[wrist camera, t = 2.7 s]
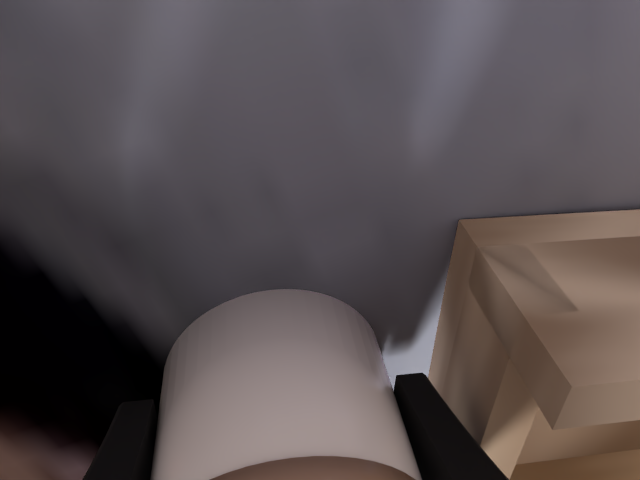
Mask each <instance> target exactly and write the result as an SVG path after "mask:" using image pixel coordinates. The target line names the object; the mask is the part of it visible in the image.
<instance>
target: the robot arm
mask: <svg viewBox="0 0 640 480" xmlns="http://www.w3.org/2000/svg"><path fill="white" fill-rule="evenodd" d="M394 395H395V398H396V401H397V404H398V407H399V410H400V413H401V416H402V419H403V422H404V425H405V428H406V431H407V434H408V438H409V441H410V444H411V447H412V450H413V453H414V456H415V459H416V462H417V465H418V468H419V471H420V474H421V478H422V480H509V479H508V478H507V477H506V476H505V475H504V473H503V472H502V471H501V470H500V469H499V468H498V467H497V465H496V464H495V463H494V462H493V461H492V460H491V458H490V457H489V456H488V455H487V454H486V453H485V451H484V450H483V449H482V448H481V447H480V445H479V444H478V443H477V442H476V441H475V439H474V438H473V437H472V436H471V435H470V433H469V432H468V431H467V430H466V428H465V427H464V426H463V425H462V423H461V422H460V421H459V419H458V418H457V417H456V416H455V414H454V413H453V412H452V410H451V409H450V408H449V406H448V405H447V404H446V402H445V401H444V400H443V398H442V397H441V396H440V394H439V393H438V392H437V390H436V389H435V387H434V386H433V385H432V383H431V382H430V380H429V379H428V378H427V376H426V375H425V374H423V373H415V374H405V375H396V381H395V387H394ZM157 422H158V418H157V414H156V409H155V405H154V401H153V399H149V400H139V401H129V402H123V403H122V404H121V405H119V407H118V409H117V411H116V414H115V416H114V418H113V421H112V423H111V425H110V427H109V429H108V431H107V433H106V436H105V438H104V440H103V442H102V444H101V446H100V448H99V450H98V452H97V454H96V456H95V458H94V460H93V461H92V463H91V465H90V467H89V469H88V471H87V473H86V475H85V476H84V478H83V480H150V478H151V470H152V462H153V454H154V446H155V438H156V430H157Z"/></svg>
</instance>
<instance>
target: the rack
mask: <svg viewBox="0 0 640 480" xmlns="http://www.w3.org/2000/svg"><path fill="white" fill-rule="evenodd" d="M428 379H429V380H430V382H431V383H432V385H433V386H434V387H435V389H436V390H437V392H438V393H439V394H440V396H441V397H442V398H443V400H444V401H445V402H446V404H447V405H448V406H449V408H450V409H451V410H452V412H453V413H454V414H455V416H456V417H457V418H458V419H459V421H460V422H461V423H462V425H463V426H464V427H465V428H466V430H467V431H468V432H469V433H470V435H471V436H472V437H473V438H474V439H475V441H476V442H477V443H478V444H479V445H480V447H481V448H482V449H483V450H484V451H485V453H486V454H487V455H488V456H489V457H490V458H491V460H492V461H493V462H494V463H495V464H496V465H497V467H498V468H499V469H500V470H501V471H502V472H503V473H504V475H505V476H506V477H507V478H508V479H509V480H640V209H638V210H620V211H603V212H585V213H568V214H550V215H533V216H515V217H498V218H480V219H463V220H459V221H458V226H457V231H456V236H455V240H454V245H453V250H452V255H451V259H450V264H449V269H448V274H447V279H446V284H445V290H444V295H443V300H442V306H441V311H440V316H439V322H438V327H437V333H436V338H435V343H434V349H433V354H432V359H431V365H430V370H429V375H428Z"/></svg>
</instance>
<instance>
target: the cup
mask: <svg viewBox="0 0 640 480" xmlns="http://www.w3.org/2000/svg"><path fill="white" fill-rule="evenodd" d="M150 480H422V478H421V474H420V471H419V468H418V465H417V462H416V459H415V456H414V453H413V450H412V447H411V444H410V441H409V438H408V434H407V431H406V428H405V425H404V422H403V419H402V416H401V413H400V410H399V407H398V404H397V401H396V398H395V395H394V391H393V388H392V385H391V382H390V379H389V376H388V373H387V370H386V367H385V364H384V361H383V358H382V355H381V351H380V348H379V345H378V342H377V339H376V337H375V334H374V332H373V330H372V328H371V326H370V325H369V323H368V322H367V321H366V320H365V319H364V317H363V316H362V315H361V314H360V313H358V312H357V311H356V310H355V309H354V308H352V307H351V306H349V305H348V304H346V303H344V302H343V301H340V300H338V299H336V298H334V297H332V296H328V295H325V294H322V293H318V292H313V291H308V290H299V289H274V290H266V291H260V292H254V293H251V294H247V295H243V296H240V297H237V298H234V299H232V300H229V301H226V302H224V303H222V304H220V305H218V306H216V307H214V308H212V309H211V310H209V311H208V312H206V313H205V314H203V315H202V316H200V317H199V318H198V319H196V320H195V321H194V322H193V323H192V324H190V325H189V326H188V327H187V328H186V329H185V331H184V332H183V333H182V334H181V335H180V336H179V338H178V339H177V340H176V342H175V343H174V345H173V346H172V348H171V351H170V353H169V355H168V357H167V360H166V364H165V367H164V374H163V382H162V390H161V398H160V406H159V414H158V422H157V430H156V438H155V446H154V454H153V462H152V470H151V478H150Z"/></svg>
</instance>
